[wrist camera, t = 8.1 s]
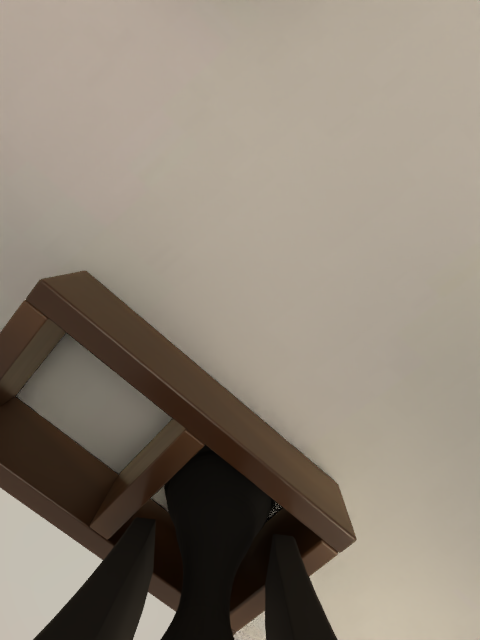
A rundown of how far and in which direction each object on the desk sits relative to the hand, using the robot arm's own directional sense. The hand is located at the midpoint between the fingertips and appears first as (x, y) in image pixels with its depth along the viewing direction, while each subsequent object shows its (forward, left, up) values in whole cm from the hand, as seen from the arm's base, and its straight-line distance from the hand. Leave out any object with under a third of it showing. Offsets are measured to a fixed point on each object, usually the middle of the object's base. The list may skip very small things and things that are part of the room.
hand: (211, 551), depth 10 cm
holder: (+2, +2, -3) cm, 4 cm away
